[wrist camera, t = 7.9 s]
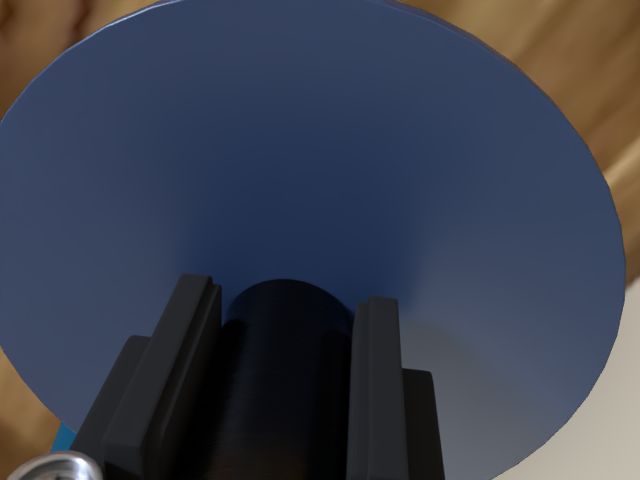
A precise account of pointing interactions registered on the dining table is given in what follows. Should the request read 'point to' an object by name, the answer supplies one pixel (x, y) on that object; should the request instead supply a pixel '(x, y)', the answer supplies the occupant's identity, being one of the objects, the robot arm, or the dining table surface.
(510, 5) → the dining table surface
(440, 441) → the robot arm
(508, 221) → the tin lid
